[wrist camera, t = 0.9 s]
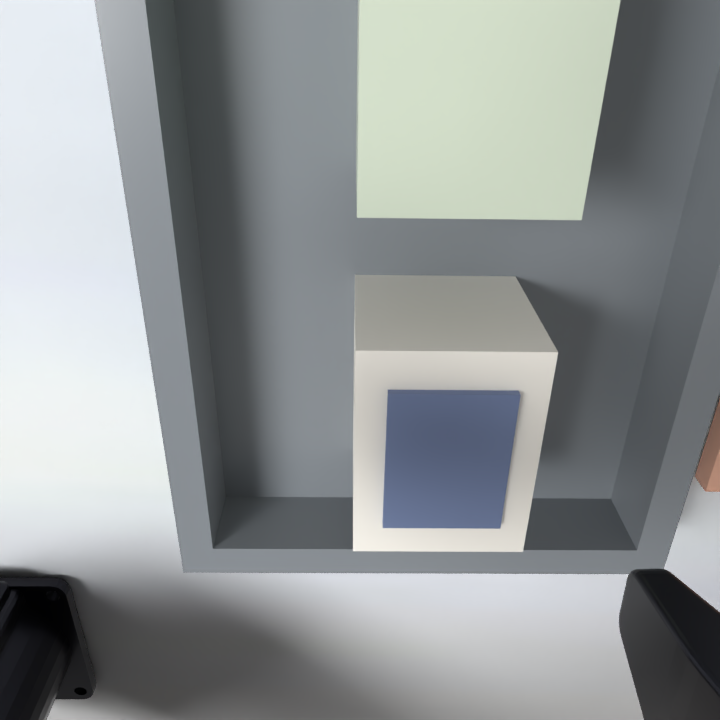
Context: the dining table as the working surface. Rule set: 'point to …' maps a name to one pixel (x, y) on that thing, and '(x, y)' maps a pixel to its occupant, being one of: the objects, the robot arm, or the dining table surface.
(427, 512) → the labelled box
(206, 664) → the dining table surface
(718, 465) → the pad
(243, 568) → the parts bin
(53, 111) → the dining table surface
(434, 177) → the plain box
